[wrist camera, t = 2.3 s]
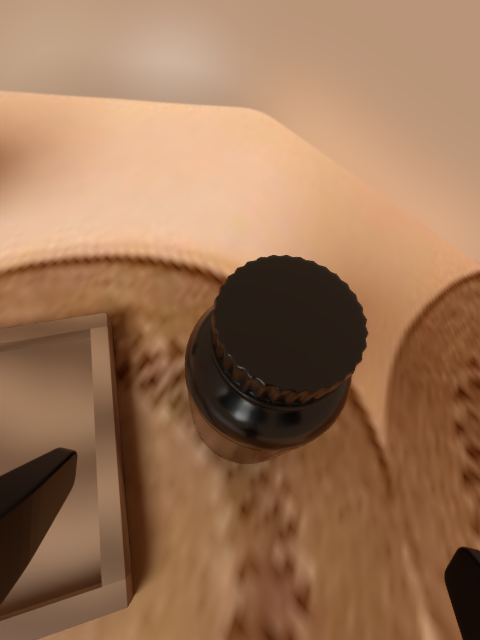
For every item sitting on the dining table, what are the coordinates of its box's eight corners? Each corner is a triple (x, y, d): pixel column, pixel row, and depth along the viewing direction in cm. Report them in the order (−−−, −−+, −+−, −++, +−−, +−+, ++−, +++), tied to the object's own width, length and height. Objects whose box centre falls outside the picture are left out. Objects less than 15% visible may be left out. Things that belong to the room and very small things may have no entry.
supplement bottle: (260, 340, 22) (316, 207, 12) (317, 427, 20) (453, 358, 9) (171, 385, 20) (141, 271, 9) (223, 490, 17) (262, 494, 7)
